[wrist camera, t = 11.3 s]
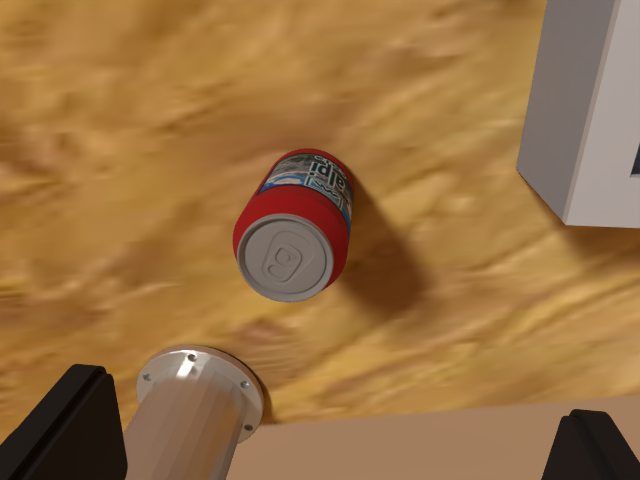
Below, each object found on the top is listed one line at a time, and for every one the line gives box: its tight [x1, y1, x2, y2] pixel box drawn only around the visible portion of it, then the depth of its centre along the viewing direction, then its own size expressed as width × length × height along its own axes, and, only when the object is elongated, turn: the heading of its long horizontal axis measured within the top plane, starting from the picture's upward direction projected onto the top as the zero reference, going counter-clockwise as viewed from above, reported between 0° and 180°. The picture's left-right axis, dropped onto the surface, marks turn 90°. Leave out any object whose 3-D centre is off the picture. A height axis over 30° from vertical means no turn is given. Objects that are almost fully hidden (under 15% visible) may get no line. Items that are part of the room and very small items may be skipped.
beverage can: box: [233, 149, 354, 302], centre depth 31 cm, size 7×7×12 cm
